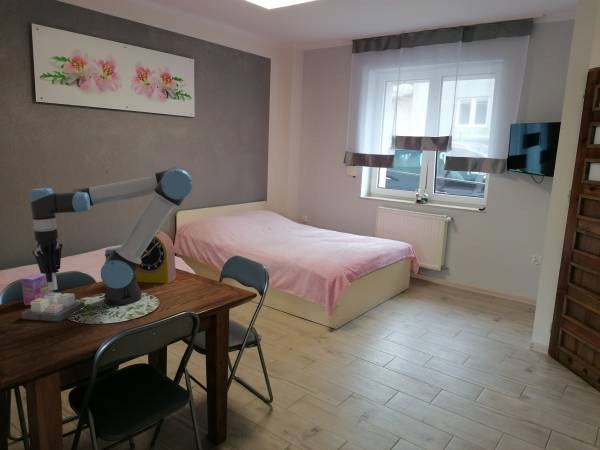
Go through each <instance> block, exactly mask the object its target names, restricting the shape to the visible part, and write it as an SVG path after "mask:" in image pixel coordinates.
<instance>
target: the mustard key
mask: <svg viewBox="0 0 600 450" xmlns="http://www.w3.org/2000/svg"><path fill="white" fill-rule="evenodd" d="M30 303H31V306H30V308H31V312H44V311H45V308H44V307H47V306H49V299H44V298H38V299H36V300H34V301H32V302H30Z"/></svg>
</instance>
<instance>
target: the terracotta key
mask: <svg viewBox="0 0 600 450" xmlns="http://www.w3.org/2000/svg"><path fill="white" fill-rule="evenodd" d="M44 308H45V313H57V312H59V311H61V310H63V304H54V303H53V304H51V305H49V306H47V307H44Z"/></svg>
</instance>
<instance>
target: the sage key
mask: <svg viewBox="0 0 600 450" xmlns="http://www.w3.org/2000/svg"><path fill="white" fill-rule="evenodd" d="M61 294H62V295H60V296H58V297H57V300H58V304H63V307H69V306H71V305H73V304H75V301H76V297H75V293H68V292H67V293H66V292H65V293H61Z"/></svg>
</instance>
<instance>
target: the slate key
mask: <svg viewBox="0 0 600 450" xmlns="http://www.w3.org/2000/svg"><path fill="white" fill-rule="evenodd" d="M62 294H63V293H62V292H54V291H53V292H52V293H50V294H47V295H45V296H44V299H49V305H51V304H53V303H54V304H58V300H57V297H58V296H60V295H62Z"/></svg>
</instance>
